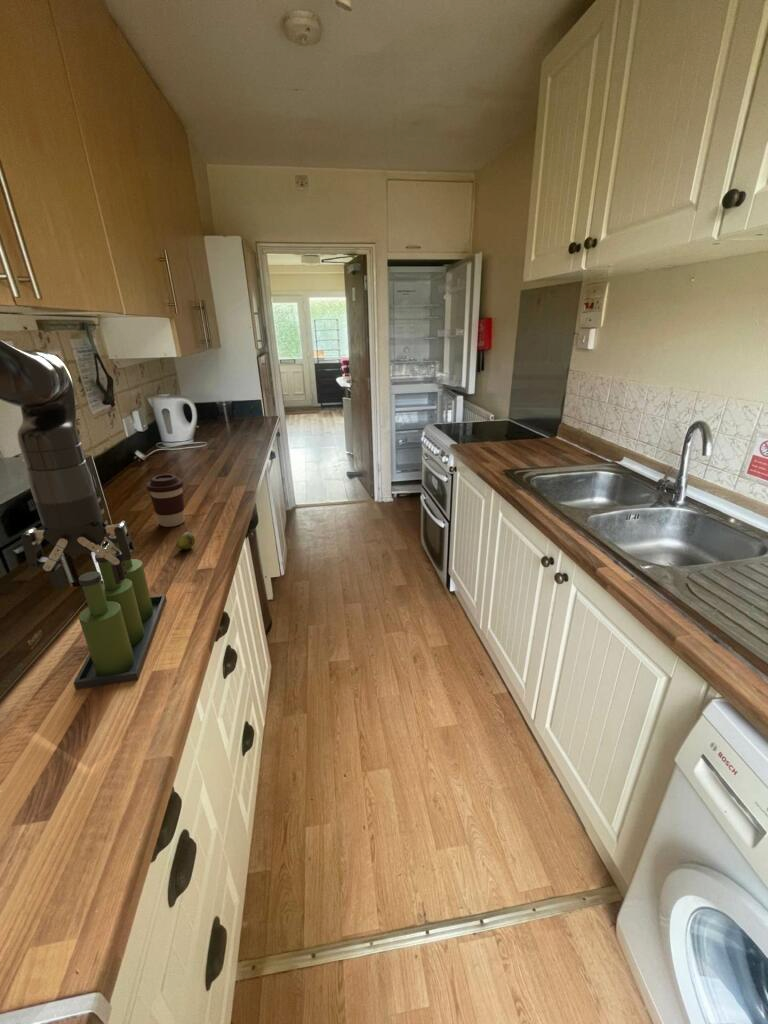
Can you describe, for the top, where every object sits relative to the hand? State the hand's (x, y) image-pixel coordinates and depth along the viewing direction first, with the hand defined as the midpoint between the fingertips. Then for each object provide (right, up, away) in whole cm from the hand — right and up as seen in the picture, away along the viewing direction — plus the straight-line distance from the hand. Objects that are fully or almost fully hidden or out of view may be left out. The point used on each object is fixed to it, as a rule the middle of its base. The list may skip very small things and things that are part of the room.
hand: (91, 584), depth 70 cm
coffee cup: (-18, +8, +64) cm, 67 cm away
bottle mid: (-2, -13, +14) cm, 19 cm away
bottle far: (-4, -10, +20) cm, 23 cm away
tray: (-2, -14, +14) cm, 20 cm away
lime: (-7, +1, +49) cm, 49 cm away
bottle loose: (0, -16, +7) cm, 17 cm away
